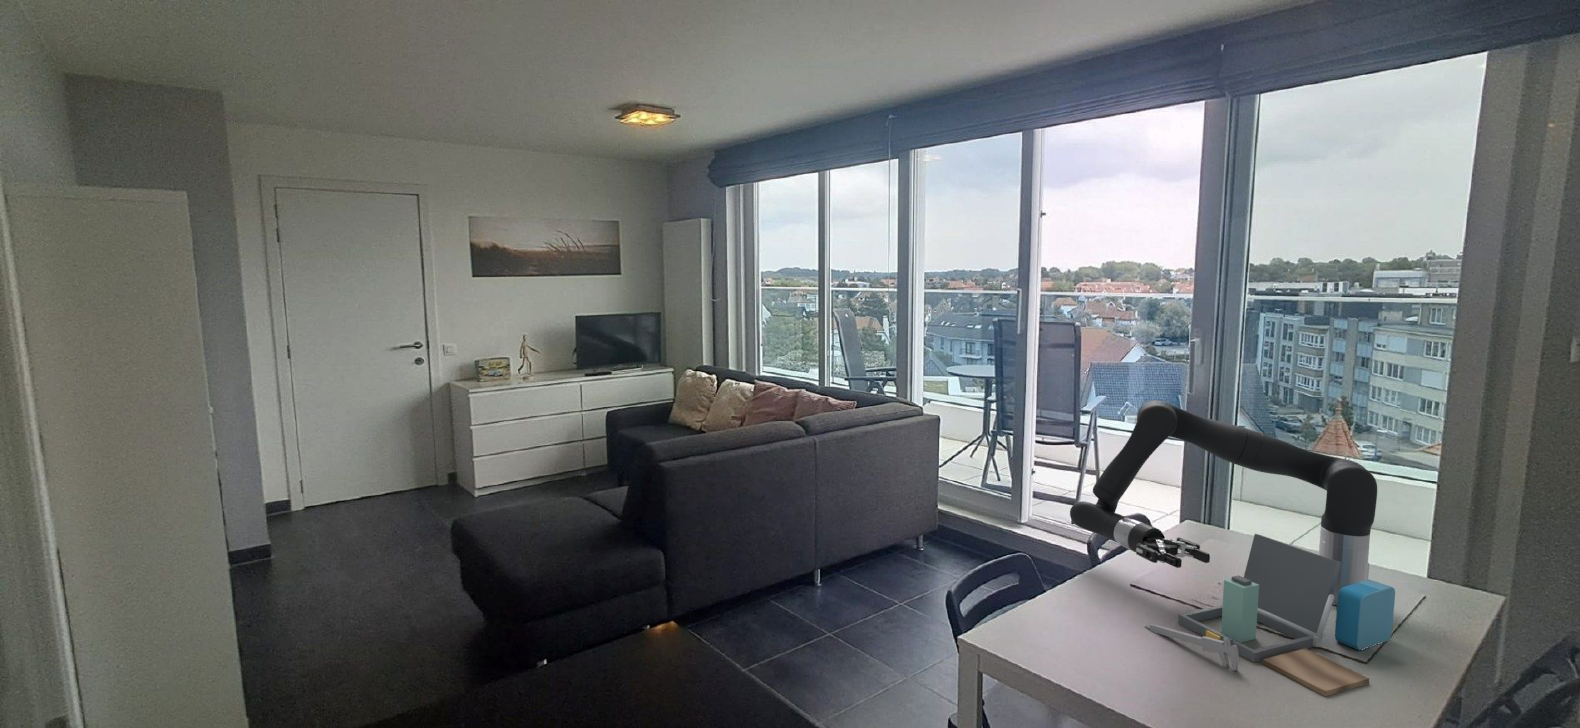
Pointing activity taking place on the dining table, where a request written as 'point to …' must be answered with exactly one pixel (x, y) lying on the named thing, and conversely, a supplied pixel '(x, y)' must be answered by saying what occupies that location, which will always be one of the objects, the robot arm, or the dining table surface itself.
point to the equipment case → (1281, 597)
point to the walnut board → (1315, 672)
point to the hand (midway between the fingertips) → (1194, 561)
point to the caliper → (1204, 644)
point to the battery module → (1240, 609)
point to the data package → (1364, 614)
